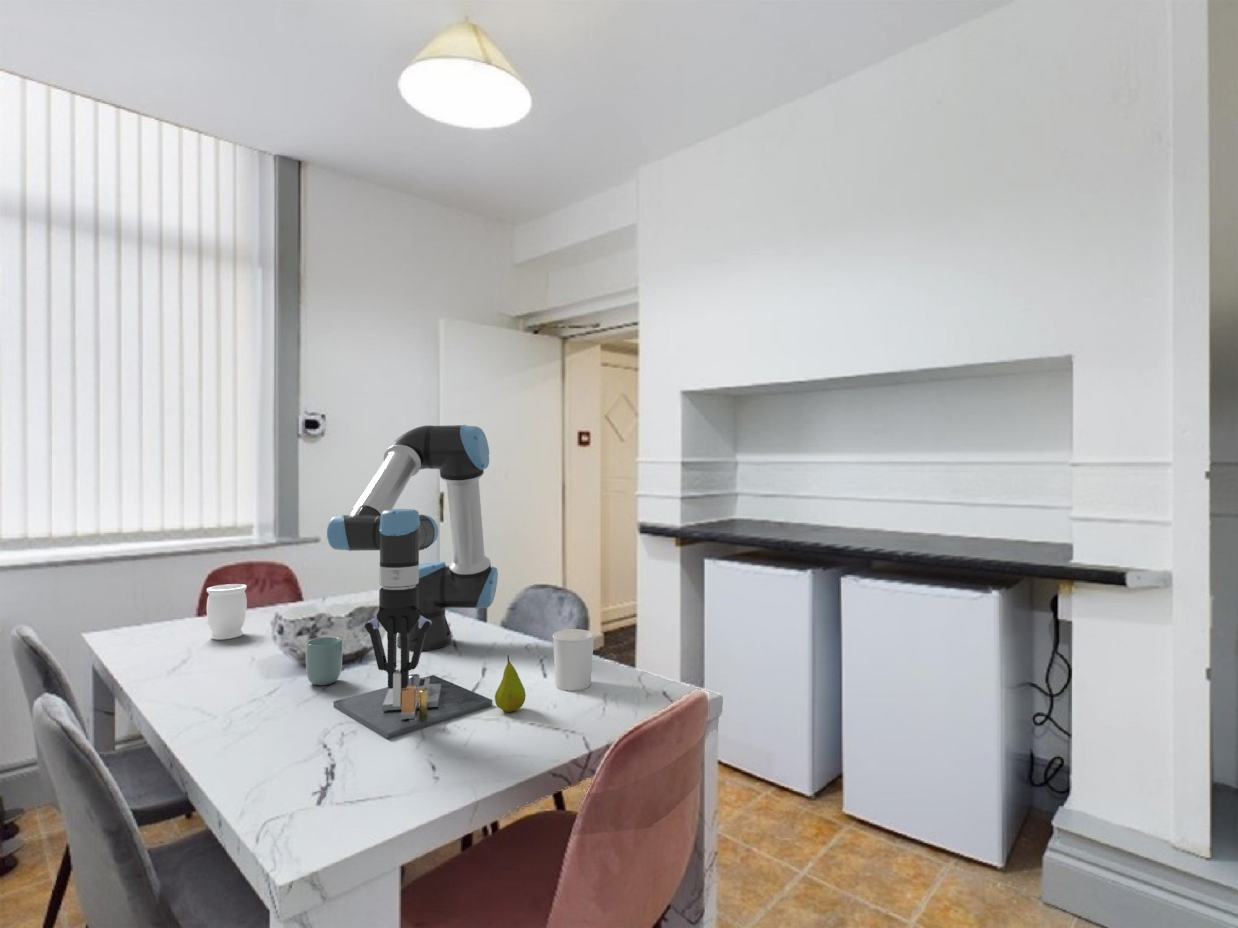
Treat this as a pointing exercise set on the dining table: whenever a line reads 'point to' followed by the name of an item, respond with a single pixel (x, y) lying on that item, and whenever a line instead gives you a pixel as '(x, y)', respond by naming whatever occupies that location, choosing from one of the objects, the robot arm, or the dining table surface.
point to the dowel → (422, 703)
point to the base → (390, 723)
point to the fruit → (510, 690)
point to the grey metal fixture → (414, 698)
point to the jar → (226, 610)
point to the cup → (323, 660)
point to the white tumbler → (573, 659)
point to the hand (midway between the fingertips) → (398, 703)
